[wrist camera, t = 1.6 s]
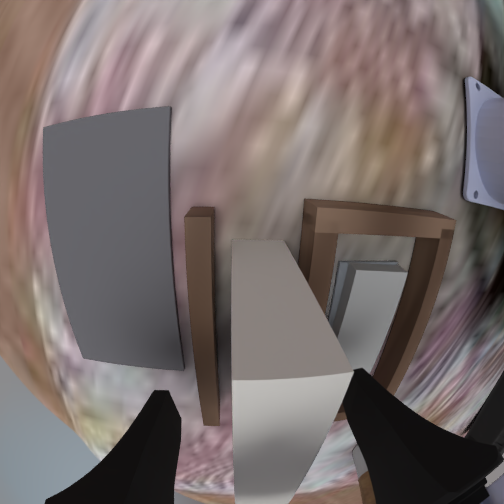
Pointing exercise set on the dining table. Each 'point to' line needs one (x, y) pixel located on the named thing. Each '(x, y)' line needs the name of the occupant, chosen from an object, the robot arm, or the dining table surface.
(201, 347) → the brown wooden frame
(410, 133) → the dining table surface
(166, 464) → the robot arm
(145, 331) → the mat
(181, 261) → the dining table surface
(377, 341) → the offcut upper
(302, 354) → the white rectangular block
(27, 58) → the dining table surface
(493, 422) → the magazine
